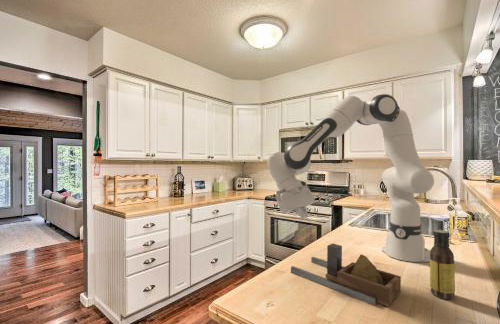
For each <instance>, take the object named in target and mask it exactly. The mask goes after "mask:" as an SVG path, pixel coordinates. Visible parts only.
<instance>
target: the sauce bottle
mask: <svg viewBox="0 0 500 324" xmlns="http://www.w3.org/2000/svg"><path fill="white" fill-rule="evenodd" d="M432 233H433V239H434V241H433V245H432V247H431V248H430V249H429V250H430V262H429V286H430V292H431V294H432V295H433V296H435V297H437V298H439V299H442V300H443V299H444V300H452V299H454V298H455V292H456V286H455V285H456V282H455V281H456V280H455V279H456V276H455V273H456V272H455V271H456V270H455V256H454V252H453V251H452V249H451V248H450V241H449V239H450V232H449V231H447V230H445V229H444V230H443V229H434V230H433V232H432Z"/></svg>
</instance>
